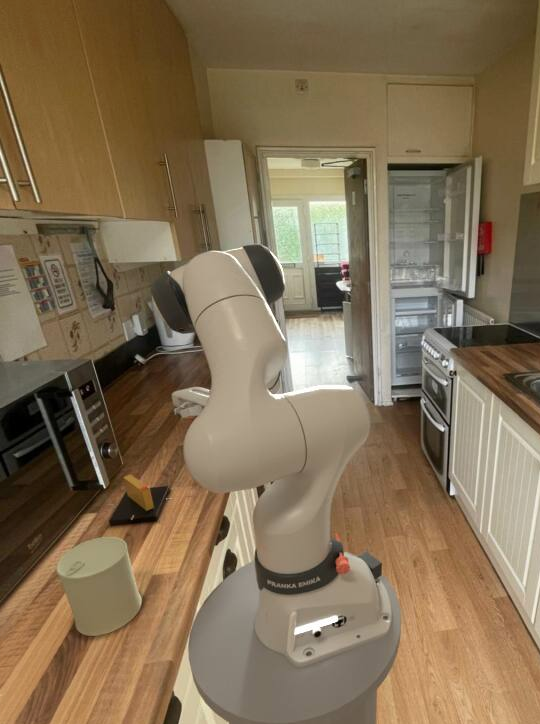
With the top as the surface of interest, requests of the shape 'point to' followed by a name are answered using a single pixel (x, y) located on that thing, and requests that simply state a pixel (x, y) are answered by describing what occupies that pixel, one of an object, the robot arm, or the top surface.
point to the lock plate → (139, 508)
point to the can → (99, 585)
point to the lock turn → (138, 492)
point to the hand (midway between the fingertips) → (178, 413)
